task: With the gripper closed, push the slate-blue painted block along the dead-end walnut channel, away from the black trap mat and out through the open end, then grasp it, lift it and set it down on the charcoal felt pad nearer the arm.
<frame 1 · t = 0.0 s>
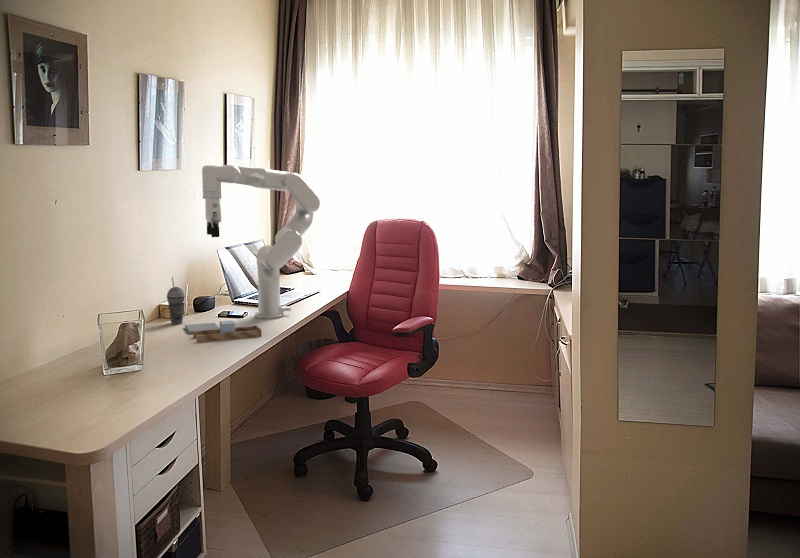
hand: (213, 235, 305), 37 cm above the table, tool pointing down, fingers open, 9 cm apart
beverage cup: (176, 323, 305), on the table
channel: (227, 336, 285), on the table
block: (227, 337, 285), resting in channel
pad: (202, 329, 295), on the table
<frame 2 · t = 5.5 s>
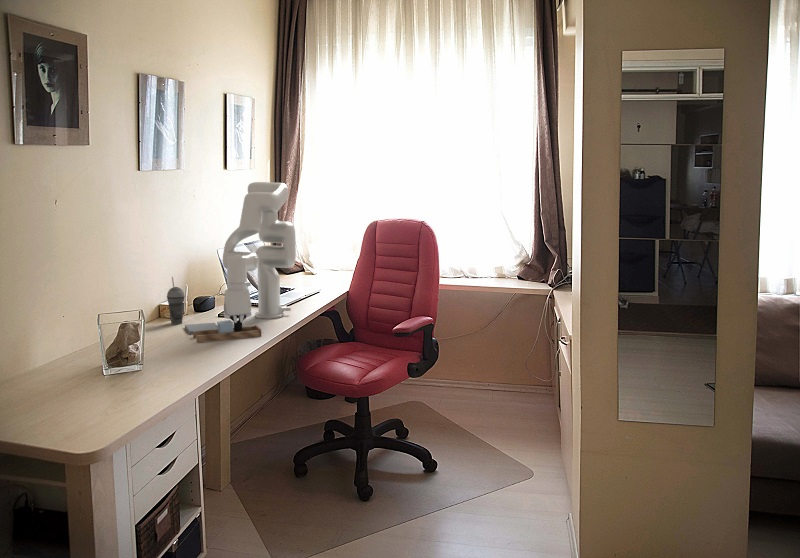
hand: (238, 331, 286), 2 cm above the table, tool pointing down, fingers closed
block: (226, 336, 284), resting in channel, touching gripper
everything else where it was.
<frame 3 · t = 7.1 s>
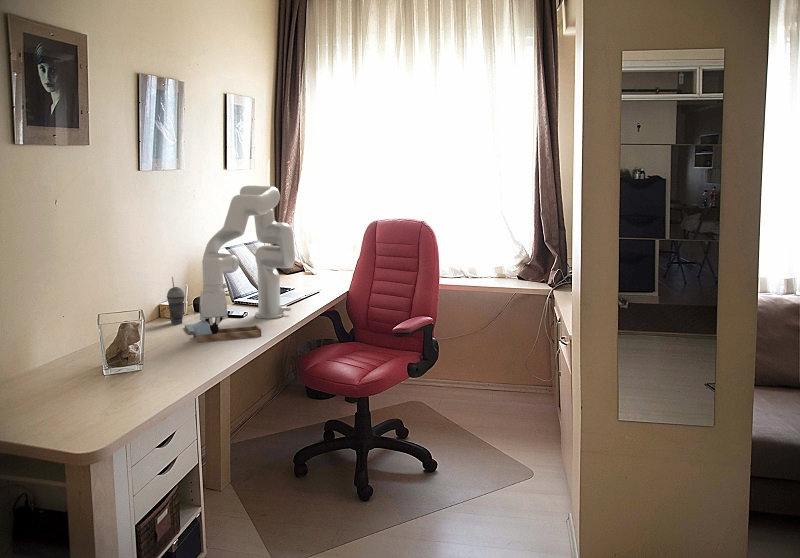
hand: (214, 334, 282), 2 cm above the table, tool pointing down, fingers closed
block: (205, 337, 280), point 1 cm above the table, tilted 20°, touching gripper
everything else where it was.
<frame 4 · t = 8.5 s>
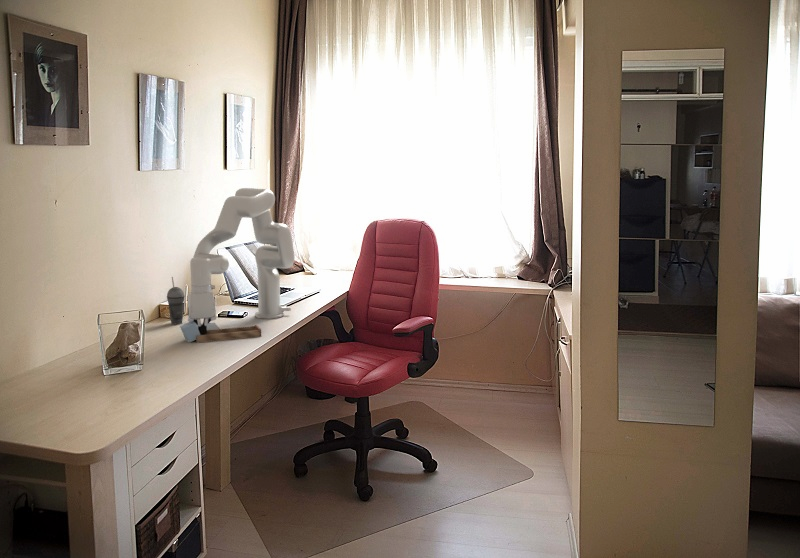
hand: (202, 335, 280), 1 cm above the table, tool pointing down, fingers closed
block: (193, 338, 278), point 1 cm above the table, tilted 20°, touching gripper
everything else where it was.
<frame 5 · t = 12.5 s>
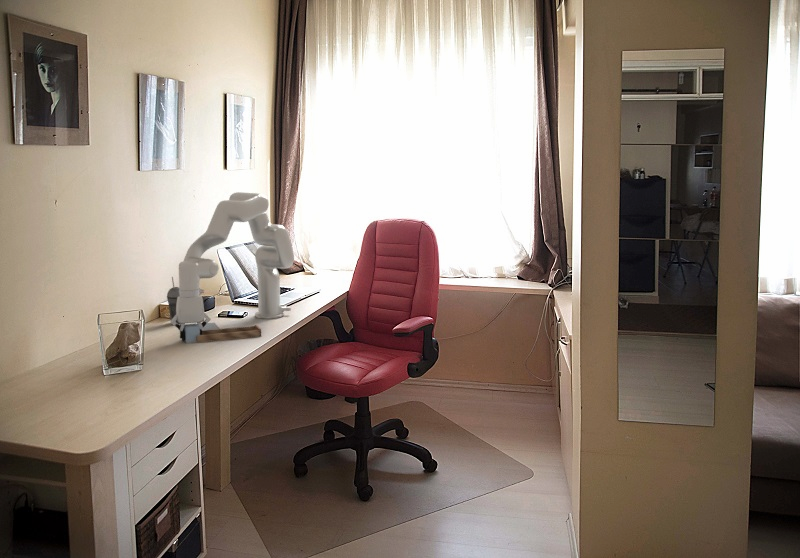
hand: (191, 338, 279), 0 cm above the table, tool pointing down, fingers closed on block, 5 cm apart
block: (191, 340, 278), on the table, touching gripper
everything else where it was.
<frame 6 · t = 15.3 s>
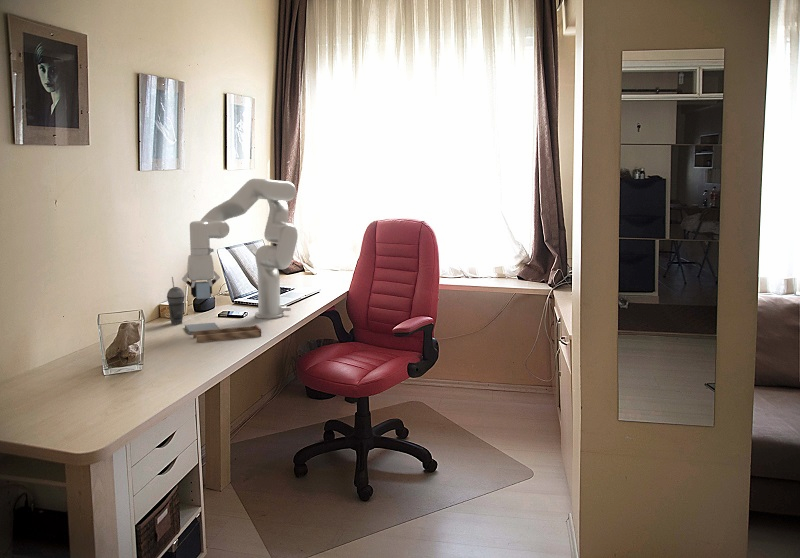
hand: (201, 295, 292), 14 cm above the table, tool pointing down, fingers closed on block, 5 cm apart
block: (202, 297, 292), point 14 cm above the table, touching gripper
everything else where it was.
when the fingers open (3 cm above the table, at t = 17.8 s): block drops 1 cm, resting on pad.
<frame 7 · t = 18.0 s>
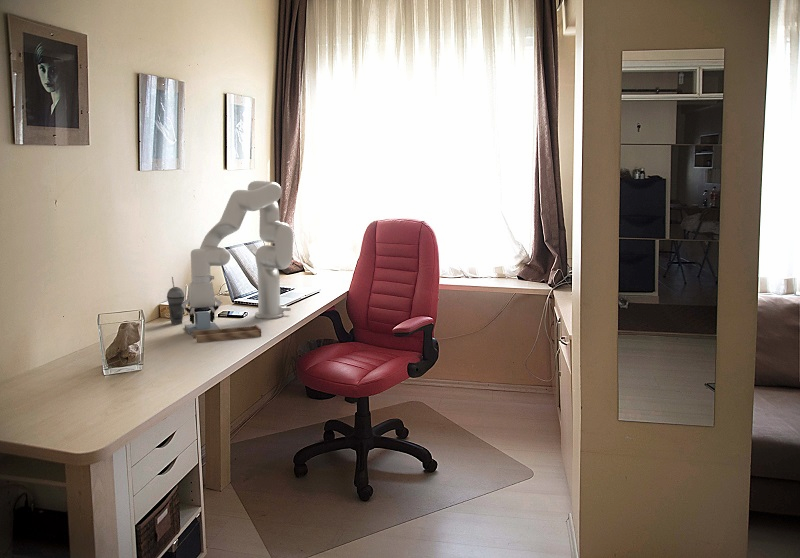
hand: (202, 322, 294), 3 cm above the table, tool pointing down, fingers open, 7 cm apart
block: (202, 327, 294), point 1 cm above the table, touching pad
everything else where it was.
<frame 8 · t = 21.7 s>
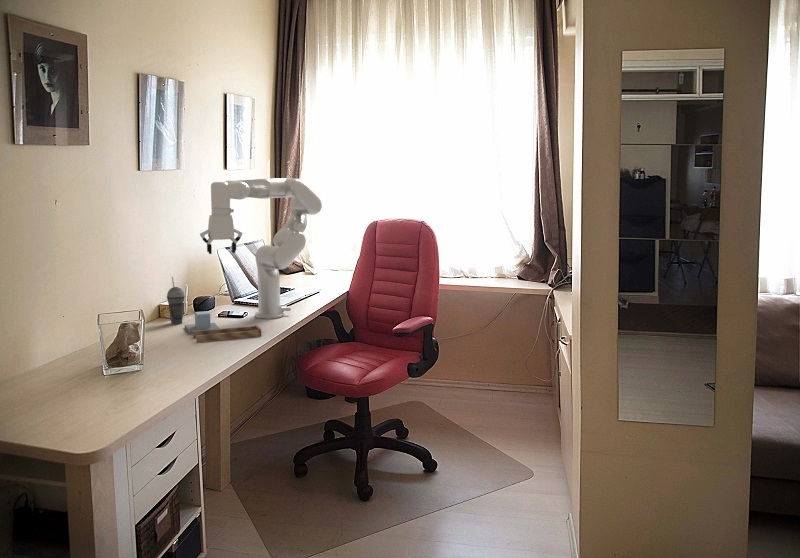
hand: (221, 253, 300), 30 cm above the table, tool pointing down, fingers open, 9 cm apart
nothing on the table moved.
at the end: block inside the target area on the pad (0.5 cm from its centre), point 1.2 cm above the pad's base; the gripper is holding nothing; block tilted 0° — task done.
